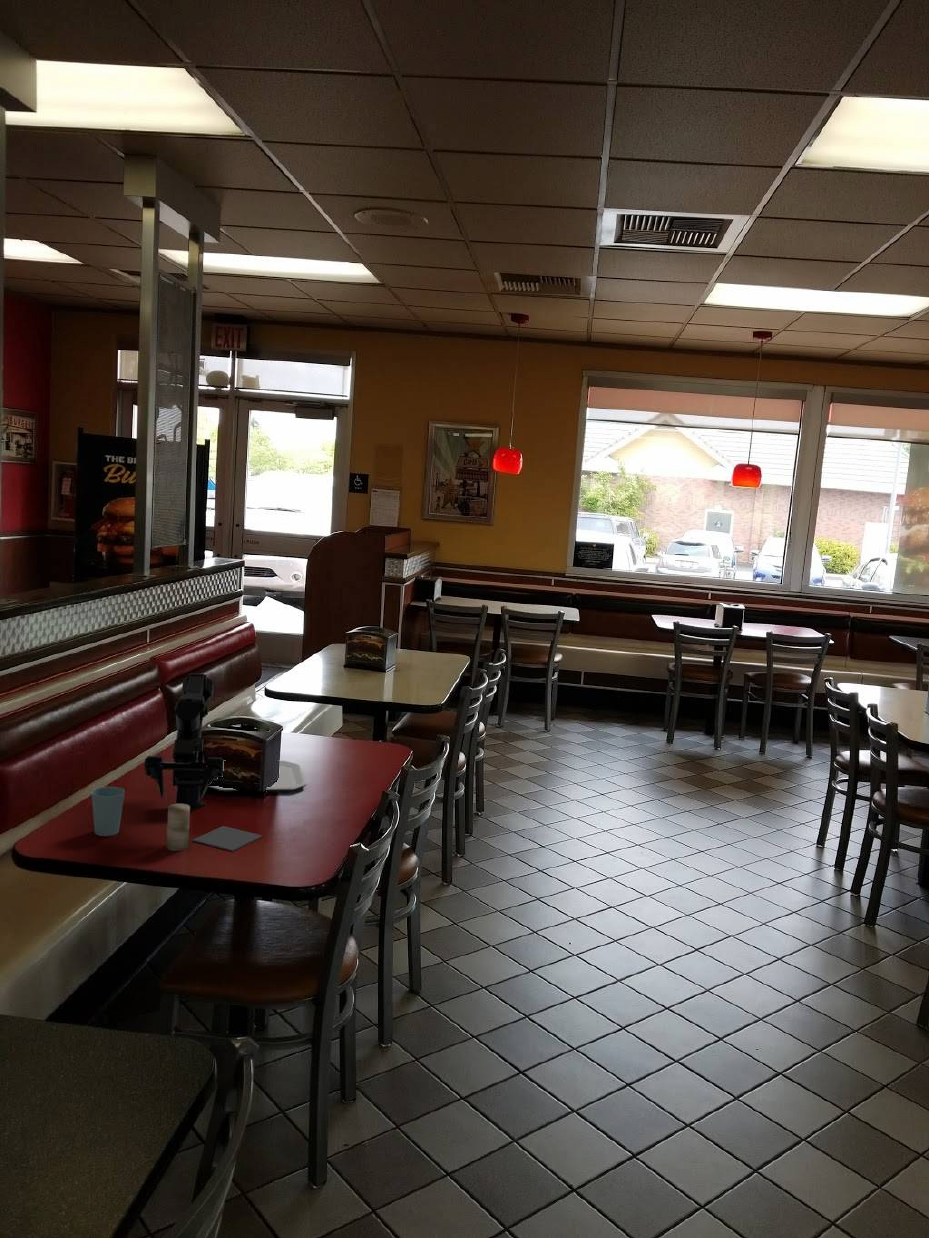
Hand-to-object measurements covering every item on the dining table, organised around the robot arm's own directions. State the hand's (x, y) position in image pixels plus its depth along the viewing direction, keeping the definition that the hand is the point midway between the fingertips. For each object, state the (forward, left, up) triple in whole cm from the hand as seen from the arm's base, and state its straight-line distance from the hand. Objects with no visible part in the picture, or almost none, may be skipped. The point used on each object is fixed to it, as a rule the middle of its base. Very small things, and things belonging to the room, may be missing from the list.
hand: (181, 797), depth 232 cm
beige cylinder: (+4, +3, -11) cm, 12 cm away
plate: (-51, -14, -11) cm, 54 cm away
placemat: (-7, +9, -11) cm, 16 cm away
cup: (+6, -17, -11) cm, 21 cm away
